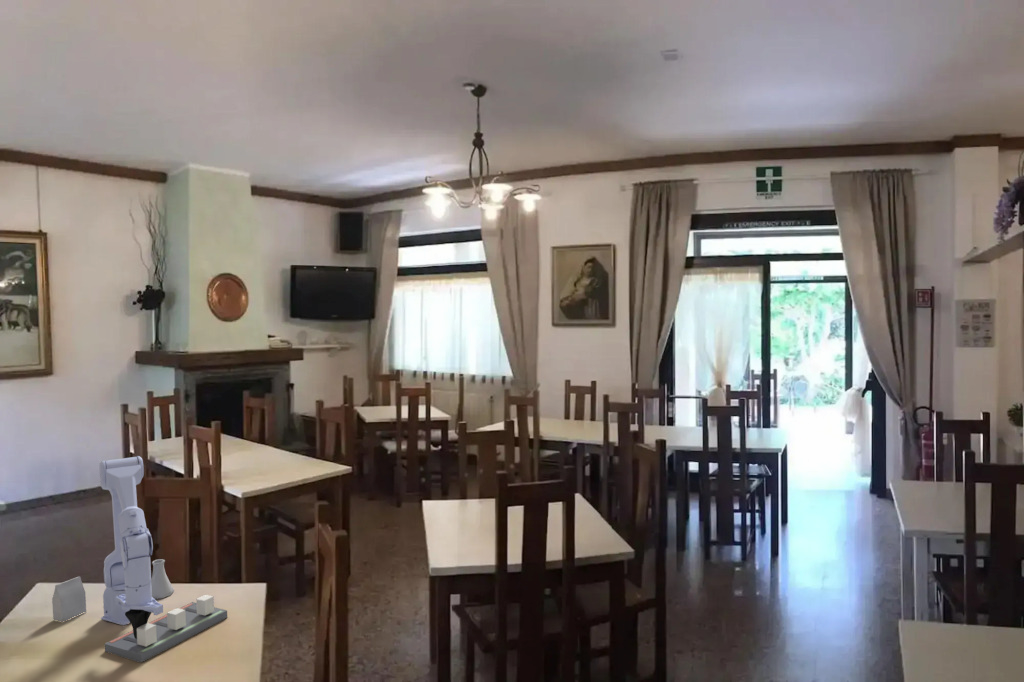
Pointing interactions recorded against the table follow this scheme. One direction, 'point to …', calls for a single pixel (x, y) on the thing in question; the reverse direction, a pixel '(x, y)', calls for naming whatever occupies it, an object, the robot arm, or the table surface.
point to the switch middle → (176, 618)
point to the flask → (160, 581)
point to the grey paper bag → (68, 599)
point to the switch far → (205, 604)
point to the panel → (164, 634)
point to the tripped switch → (146, 634)
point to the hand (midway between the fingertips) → (140, 637)
